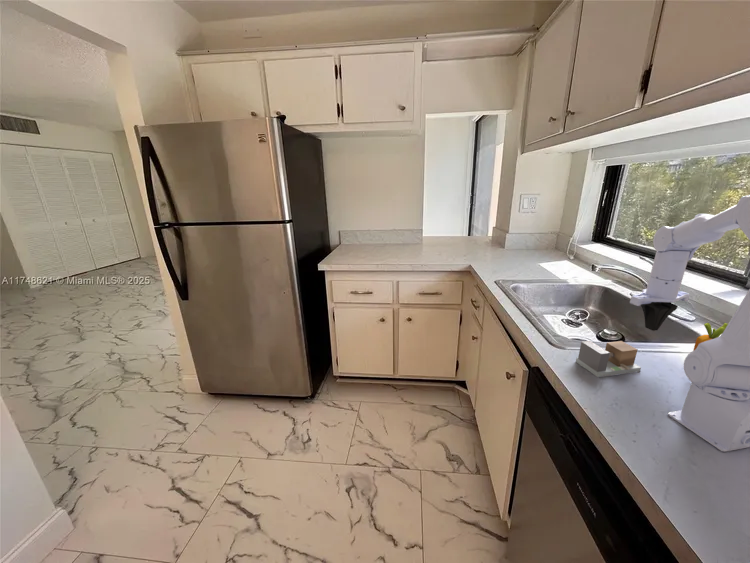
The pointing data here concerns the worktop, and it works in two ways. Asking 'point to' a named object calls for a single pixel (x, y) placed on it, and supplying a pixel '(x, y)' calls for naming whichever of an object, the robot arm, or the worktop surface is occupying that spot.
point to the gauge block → (621, 354)
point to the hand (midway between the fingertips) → (651, 328)
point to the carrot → (710, 334)
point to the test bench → (608, 371)
